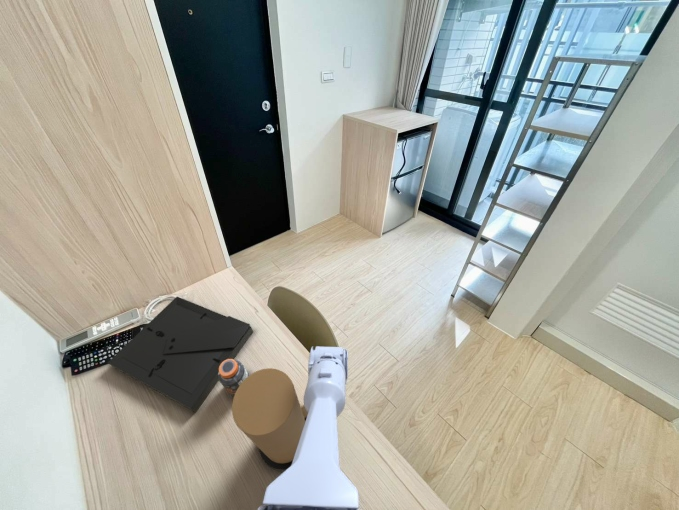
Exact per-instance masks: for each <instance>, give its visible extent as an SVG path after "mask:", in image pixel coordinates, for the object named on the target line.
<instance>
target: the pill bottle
mask: <svg viewBox="0 0 679 510" xmlns="http://www.w3.org/2000/svg"><path fill="white" fill-rule="evenodd" d="M246 368H247V367H245V365H244V364H243V362H242V361H240V360H238V359H234V360H233V359H227V360H225V361H223V362H222V363H221V364H220V366H219V373H218V379H219V381H218V382H219V383H220V384H221V385H222V386H223V388H224V389H225V390H226V391H227V393H228V394H229V396H231V397H233V398H234V395H235V393H236V391H237V389H238V387H239V386H240V384H241V383H242V382H243V381H244V380H245V379H246V378H247V377H248V376H249V375H250V374H249V372H248V371H247V369H246Z"/></svg>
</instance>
